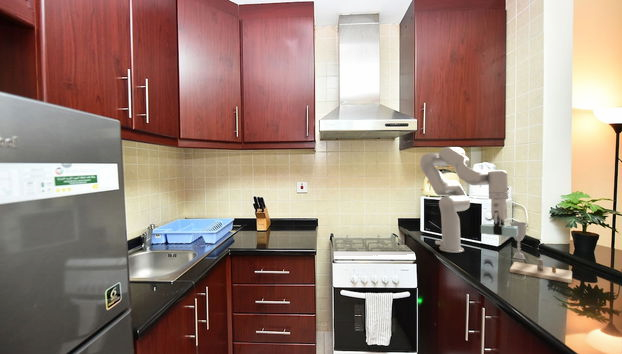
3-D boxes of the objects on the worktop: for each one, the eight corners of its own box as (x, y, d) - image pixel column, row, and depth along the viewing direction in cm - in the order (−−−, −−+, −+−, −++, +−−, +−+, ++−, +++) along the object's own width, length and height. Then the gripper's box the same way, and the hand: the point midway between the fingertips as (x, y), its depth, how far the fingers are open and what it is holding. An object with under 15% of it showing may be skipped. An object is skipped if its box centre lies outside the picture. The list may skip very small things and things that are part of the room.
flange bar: (481, 233, 135) (480, 225, 135) (484, 231, 139) (483, 223, 139) (516, 237, 125) (516, 228, 125) (518, 234, 129) (518, 226, 129)
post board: (510, 271, 123) (509, 258, 123) (514, 264, 131) (514, 252, 131) (571, 283, 109) (571, 268, 109) (572, 274, 117) (571, 260, 117)
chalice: (522, 255, 144) (521, 221, 144) (531, 259, 138) (530, 224, 137) (507, 255, 145) (506, 221, 145) (515, 259, 138) (514, 224, 138)
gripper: (504, 197, 123) (505, 237, 123) (510, 194, 135) (511, 231, 135) (484, 197, 128) (485, 235, 128) (493, 194, 141) (494, 229, 141)
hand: (499, 232), depth 132 cm, fingers closed on flange bar, 6 cm apart
